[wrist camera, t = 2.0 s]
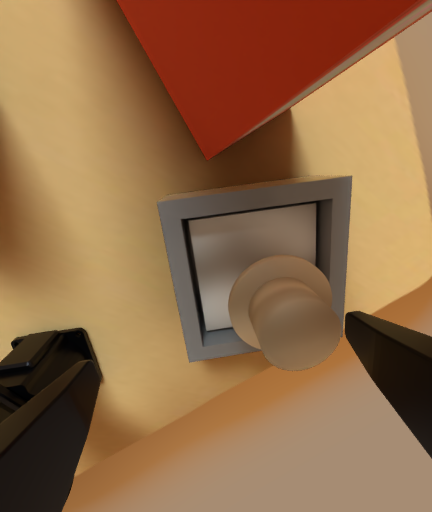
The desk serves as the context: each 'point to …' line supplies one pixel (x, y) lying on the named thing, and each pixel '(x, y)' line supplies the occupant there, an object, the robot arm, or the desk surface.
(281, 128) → the desk surface
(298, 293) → the knob on square base
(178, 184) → the desk surface
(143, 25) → the file binder
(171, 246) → the grey square tray
